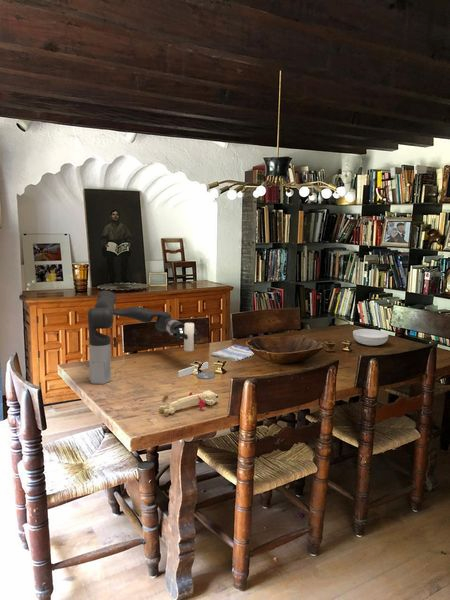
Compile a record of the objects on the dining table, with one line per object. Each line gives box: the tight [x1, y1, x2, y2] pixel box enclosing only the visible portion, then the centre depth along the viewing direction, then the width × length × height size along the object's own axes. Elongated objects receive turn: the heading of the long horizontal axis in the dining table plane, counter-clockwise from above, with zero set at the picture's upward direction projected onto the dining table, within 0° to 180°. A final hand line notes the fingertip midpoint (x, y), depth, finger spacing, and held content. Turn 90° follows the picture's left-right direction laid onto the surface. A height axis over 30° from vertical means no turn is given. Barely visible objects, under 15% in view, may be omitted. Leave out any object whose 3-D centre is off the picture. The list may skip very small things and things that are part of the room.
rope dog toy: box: [158, 389, 220, 417], centre depth 191 cm, size 10×9×25 cm
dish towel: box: [210, 344, 255, 362], centre depth 267 cm, size 17×24×3 cm
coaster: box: [195, 371, 216, 380], centre depth 230 cm, size 9×9×1 cm
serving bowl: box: [352, 328, 390, 347], centre depth 296 cm, size 21×21×7 cm
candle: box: [183, 321, 195, 352], centre depth 235 cm, size 5×5×14 cm
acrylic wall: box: [177, 361, 209, 378], centre depth 234 cm, size 1×20×3 cm, turn 140°
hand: (191, 336), depth 232 cm, fingers closed on candle, 4 cm apart
